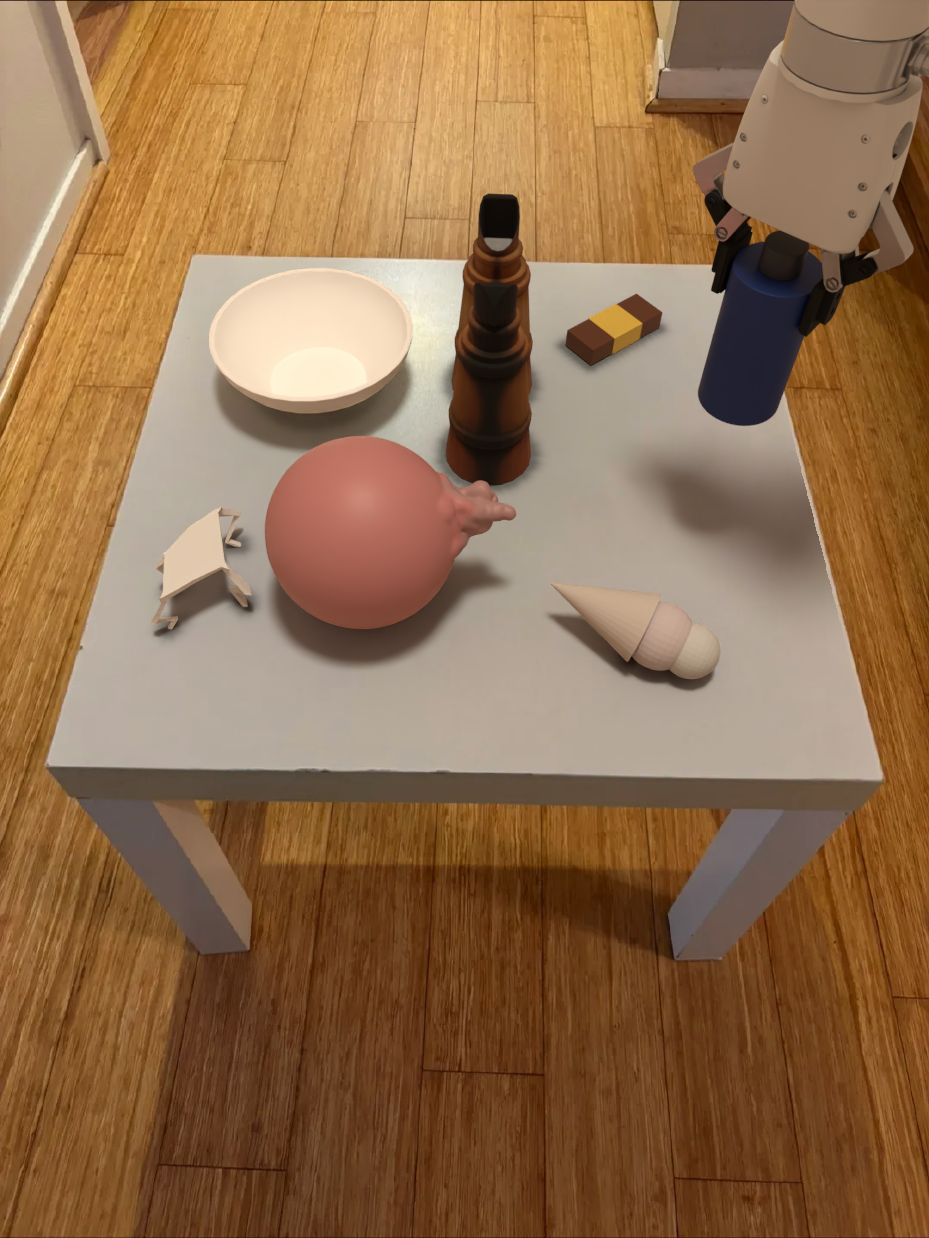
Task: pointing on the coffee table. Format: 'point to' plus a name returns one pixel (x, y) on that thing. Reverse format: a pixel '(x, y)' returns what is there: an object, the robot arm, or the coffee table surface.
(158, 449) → the coffee table surface
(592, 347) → the chocolate bar
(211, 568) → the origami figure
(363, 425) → the coffee table surface
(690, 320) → the coffee table surface
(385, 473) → the balloon
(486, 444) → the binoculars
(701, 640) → the ice cream cone
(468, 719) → the coffee table surface
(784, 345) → the water bottle
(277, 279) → the bowl
